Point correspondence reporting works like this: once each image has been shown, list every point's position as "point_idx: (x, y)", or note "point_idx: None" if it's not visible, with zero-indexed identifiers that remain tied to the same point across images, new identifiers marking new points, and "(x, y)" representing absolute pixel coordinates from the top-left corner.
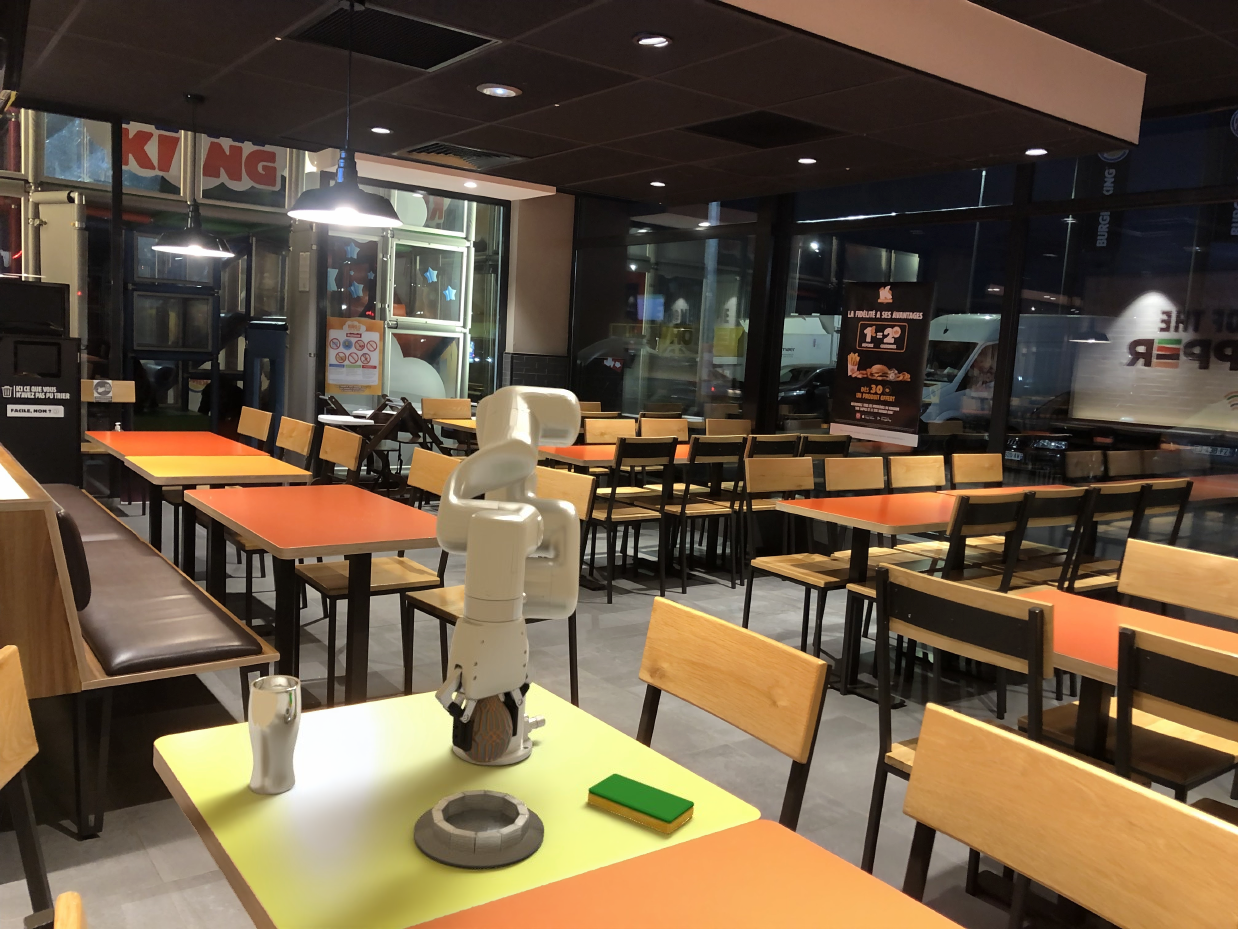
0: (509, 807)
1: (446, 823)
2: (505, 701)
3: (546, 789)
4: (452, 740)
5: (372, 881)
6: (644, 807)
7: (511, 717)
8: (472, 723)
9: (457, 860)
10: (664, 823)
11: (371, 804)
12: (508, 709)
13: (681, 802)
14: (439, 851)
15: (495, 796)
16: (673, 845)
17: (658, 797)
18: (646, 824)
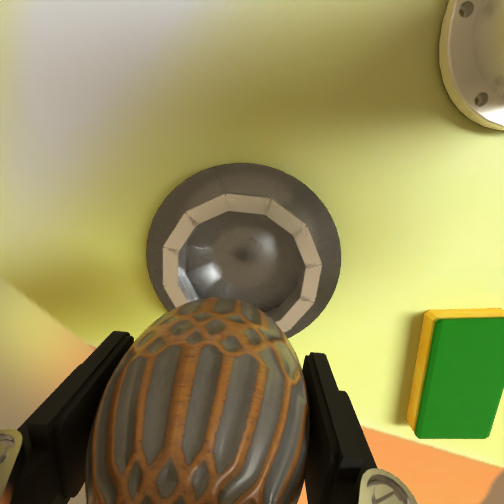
0: (301, 278)
1: (175, 262)
2: (339, 502)
3: (425, 242)
4: (108, 336)
5: (64, 247)
6: (431, 405)
7: (306, 471)
8: (68, 499)
9: (163, 301)
10: (414, 427)
11: (175, 50)
12: (316, 489)
13: (476, 430)
14: (157, 270)
15: (301, 253)
16: (385, 434)
17: (473, 404)
18: (411, 397)
